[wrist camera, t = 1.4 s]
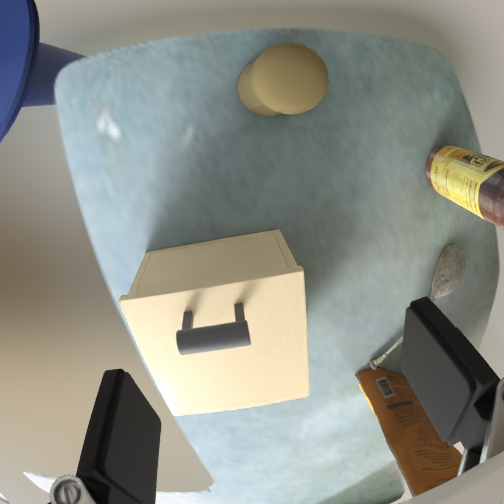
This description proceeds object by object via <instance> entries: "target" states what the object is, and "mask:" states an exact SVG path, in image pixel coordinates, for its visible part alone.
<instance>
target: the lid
mask: <svg viewBox="0 0 504 504" xmlns="http://www.w3.org/2000/svg"><path fill="white" fill-rule="evenodd" d="M119 303H120V305H121V308H122V310H123V312H124V315H125V317H126V320H127V322H128V324H129V327H130V329H131V331H132V333H133V336H134V338H135V340H136V342H137V344H138V347H139V349H140V351H141V353H142V355H143V357H144V359H145V362H146V364H147V366H148V368H149V370H150V372H151V374H152V376H153V378H154V380H155V382H156V384H157V386H158V388H159V390H160V391H161V393H162V395H163V397H164V399H165V401H166V403H167V405H168V406H169V408H170V410H171V412H172V414H173V415H174V416H177V415H190V414H200V413H210V412H219V411H227V410H234V409H241V408H248V407H255V406H261V405H267V404H272V403H278V402H283V401H288V400H293V399H298V398H303V397H308V396H309V363H308V337H307V316H306V297H305V281H304V270H303V268H302V266H298V267H293V268H287V269H282V270H276V271H270V272H264V273H259V274H253V275H247V276H241V277H235V278H229V279H223V280H217V281H211V282H205V283H199V284H193V285H187V286H181V287H174V288H168V289H162V290H155V291H149V292H142V293H136V294H129V295H122V296H121V297H120V299H119Z"/></svg>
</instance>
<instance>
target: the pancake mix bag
mask: <svg viewBox="0 0 504 504" xmlns="http://www.w3.org/2000/svg"><path fill="white" fill-rule="evenodd" d="M355 376H356V378H357V379H358V380H359V386H360V388H361V390H362V392H363V393H364V395H365V396H366V399H367V401H368V403H369V405H370V407H371V408H372V410H373V412H374V414H375V415H376V417H377V419H378V421H379V423H380V426H381V429H382V431H383V433H384V436H385V439H386V442H387V444H388V446H389V448H390V450H391V452H392V454H393V455H394V457H395V459H396V461H397V464H398V467H399V469H400V471H401V472H402V474H403V476H404V478H405V480H406V482H407V485H408V487H409V490H410V492H411V494H412V496H413V498H414V497H416V496H418V495H420V494H422V493H425V492H427V491H429V490H431V489H433V488H435V487H437V486H439V485H441V484H444V483H446V482H448V481H449V480H451V479H453V478H455V477H457V475H458V471H459V468H460V464H461V460H462V456H463V455H462V454H461V453H460V452H459V451H458V450H457V449H456V448H455V447H454V446H453V445H452V446H450V447H449V445H448V443H447V441H445V442H443V441H442V440H441V439H440V437H439V435H438V433H437V431H436V430H435V428H434V426H433V424H432V422H431V420H430V419H429V417H428V415H427V413H426V412H425V410H424V408H423V406H422V405H421V403H420V401H419V399H418V398H417V396H416V394H415V392H414V391H413V389H412V387H411V386H410V384H409V382H408V380H407V379H406V377H405V376H403V375H400V374H397V373H394V372H391V371H388V370H385V369H383V368H380V367H377V369H373V368H370V369H367V370H365V371H362V372H360V373H358V374H356V375H355Z"/></svg>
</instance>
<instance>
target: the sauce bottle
mask: <svg viewBox="0 0 504 504" xmlns="http://www.w3.org/2000/svg"><path fill="white" fill-rule="evenodd" d="M426 175H427V179H428V183H429V184H430V186H431V187H432V188H433V189H435V190H436V191H437V192H438V193H439V194H441V195H443V196H445V197H446V198H448V199H450V200H452V201H454V202H455V203H457V204H459V205H461V206H462V207H464V208H466V209H467V210H469V211H471V212H473V213H474V214H476V215H478V216H479V217H481V218H483V219H484V220H486V221H488V222H491V223H493V224H495V225H496V226H498V227H499V228H501V229H502V230H504V162H503V161H500V160H497V159H494V158H492V157H489V156H485V155H483V154H480V153H477V152H473V151H470V150H467V149H463V148H460V147H457V146H452V145H450V146H449V145H445V146H440V147H438V148H436V149H434V150H433V151H432V152H431V155H430V157H429V159H428V161H427V165H426Z"/></svg>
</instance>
